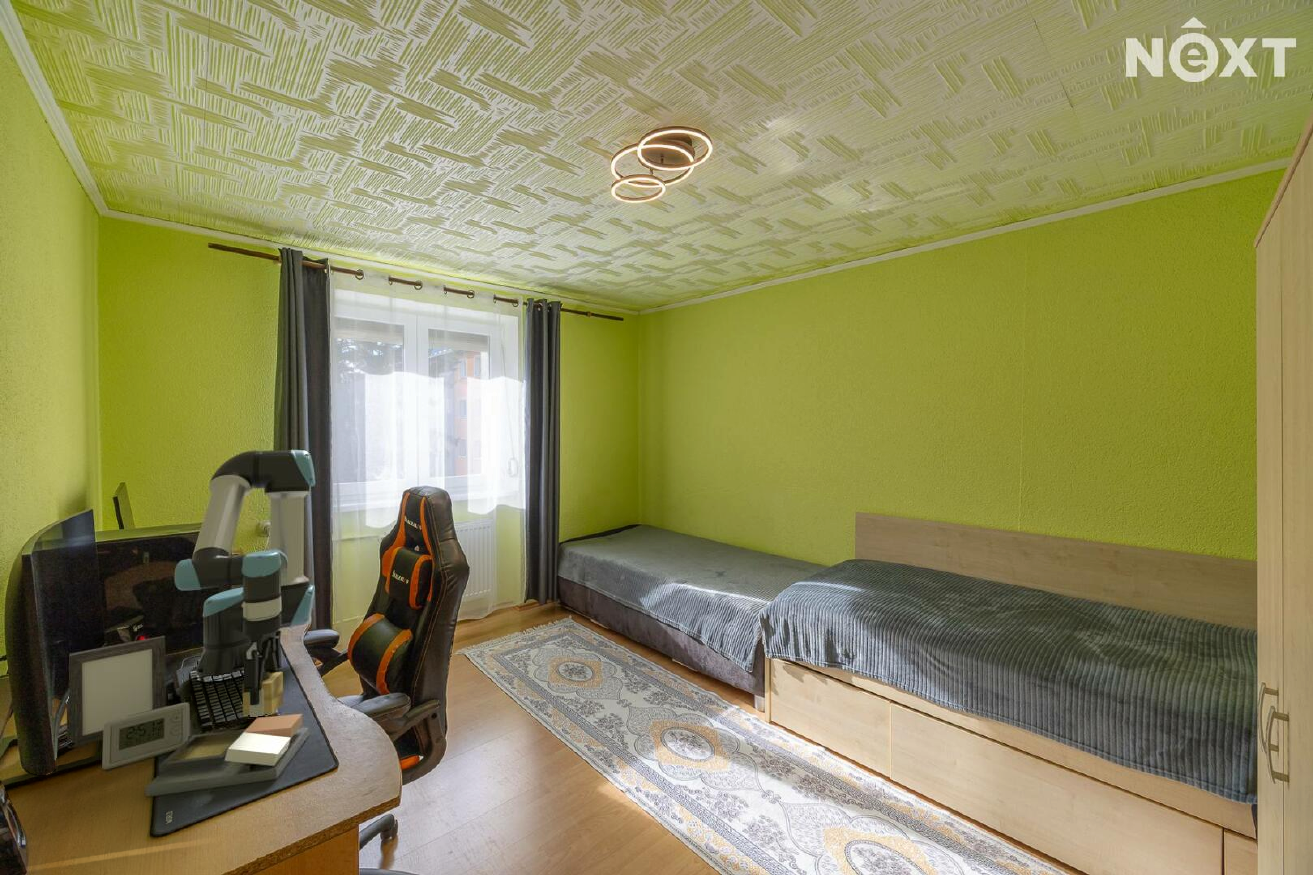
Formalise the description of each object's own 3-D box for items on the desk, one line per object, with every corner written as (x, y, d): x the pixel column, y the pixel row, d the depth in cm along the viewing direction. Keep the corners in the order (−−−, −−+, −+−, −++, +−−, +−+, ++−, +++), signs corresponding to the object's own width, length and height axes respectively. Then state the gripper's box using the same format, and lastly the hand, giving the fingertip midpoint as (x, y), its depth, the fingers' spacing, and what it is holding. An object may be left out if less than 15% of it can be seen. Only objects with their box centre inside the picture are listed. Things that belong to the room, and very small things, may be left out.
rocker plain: (240, 743, 111) (244, 732, 111) (287, 748, 113) (290, 737, 113) (224, 760, 105) (228, 748, 106) (274, 765, 107) (277, 753, 108)
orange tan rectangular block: (257, 728, 119) (257, 717, 119) (302, 724, 121) (302, 713, 121) (243, 743, 113) (243, 732, 113) (290, 738, 115) (290, 727, 115)
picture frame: (66, 751, 117) (66, 656, 117) (68, 747, 118) (67, 653, 118) (165, 724, 128) (165, 637, 128) (165, 720, 129) (164, 634, 129)
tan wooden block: (255, 705, 132) (255, 669, 132) (283, 703, 134) (282, 667, 134) (243, 718, 127) (242, 680, 126) (271, 715, 128) (271, 677, 128)
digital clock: (97, 774, 109) (96, 730, 109) (112, 754, 116) (112, 713, 116) (185, 754, 116) (184, 712, 116) (194, 736, 122) (194, 697, 122)
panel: (194, 749, 117) (194, 733, 117) (309, 735, 122) (308, 720, 122) (143, 797, 102) (142, 778, 102) (276, 778, 107) (276, 761, 107)
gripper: (264, 604, 138) (265, 691, 139) (222, 631, 120) (224, 732, 120) (296, 601, 140) (297, 688, 140) (260, 628, 121) (262, 728, 122)
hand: (263, 708), depth 130 cm, fingers closed on tan wooden block, 6 cm apart
